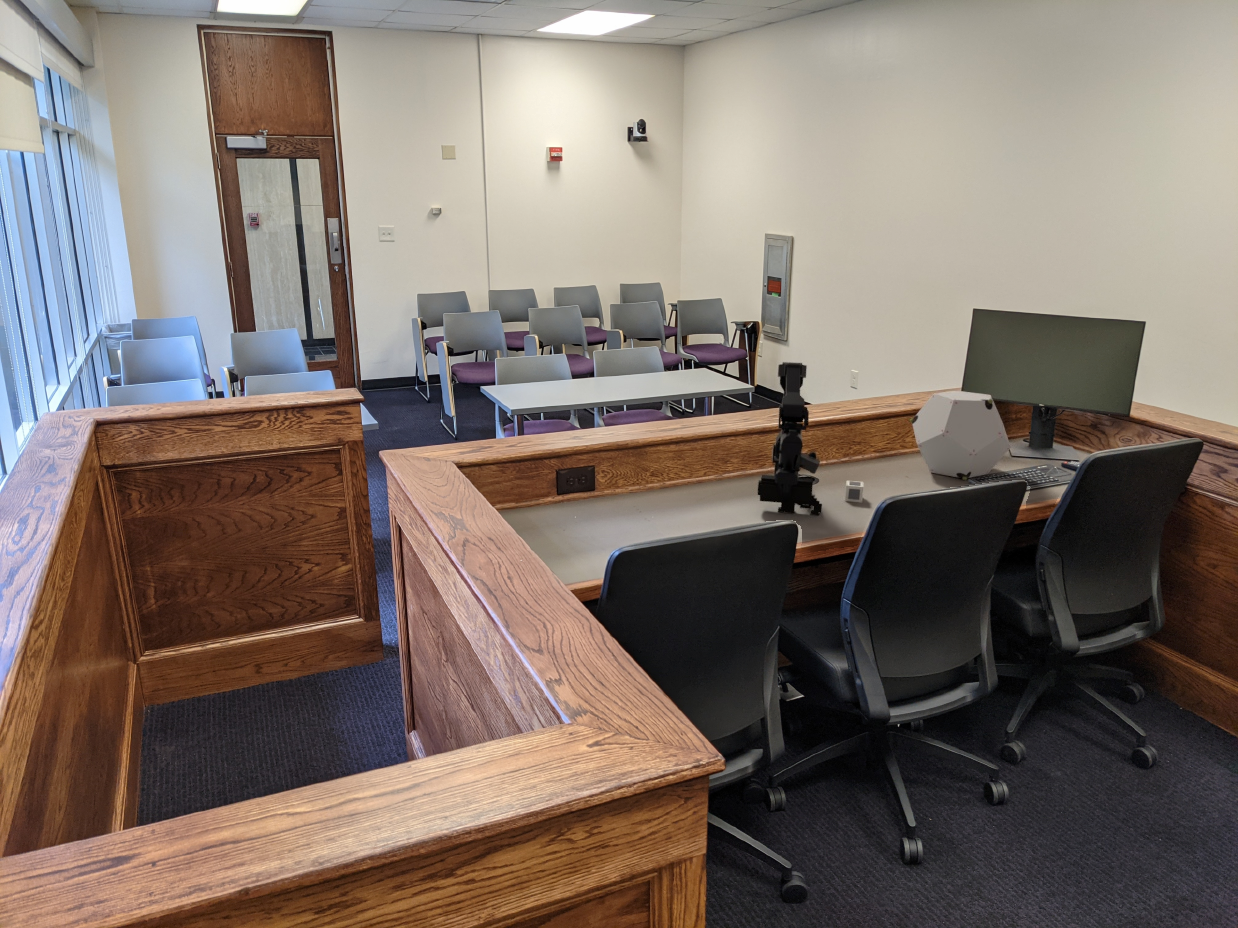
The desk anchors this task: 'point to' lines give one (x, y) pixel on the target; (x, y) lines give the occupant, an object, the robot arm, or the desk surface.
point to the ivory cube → (854, 491)
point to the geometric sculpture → (960, 434)
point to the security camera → (798, 495)
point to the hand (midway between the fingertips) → (786, 496)
